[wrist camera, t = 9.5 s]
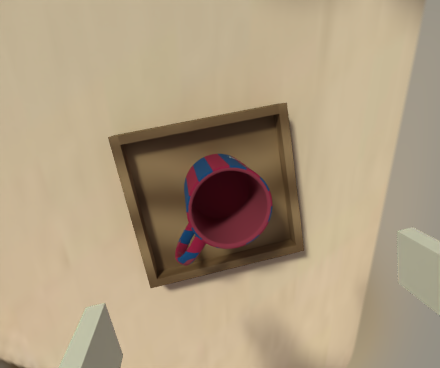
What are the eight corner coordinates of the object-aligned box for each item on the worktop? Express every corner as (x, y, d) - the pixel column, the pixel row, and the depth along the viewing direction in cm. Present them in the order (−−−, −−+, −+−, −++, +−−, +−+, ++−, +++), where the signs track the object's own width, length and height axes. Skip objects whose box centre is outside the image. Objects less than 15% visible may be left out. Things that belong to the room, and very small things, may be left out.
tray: (114, 135, 27) (108, 137, 25) (277, 103, 28) (286, 102, 26) (152, 274, 31) (150, 288, 28) (294, 240, 32) (304, 250, 30)
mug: (264, 184, 29) (289, 205, 23) (196, 254, 30) (202, 293, 23) (217, 138, 27) (230, 146, 21) (146, 213, 28) (137, 243, 22)
